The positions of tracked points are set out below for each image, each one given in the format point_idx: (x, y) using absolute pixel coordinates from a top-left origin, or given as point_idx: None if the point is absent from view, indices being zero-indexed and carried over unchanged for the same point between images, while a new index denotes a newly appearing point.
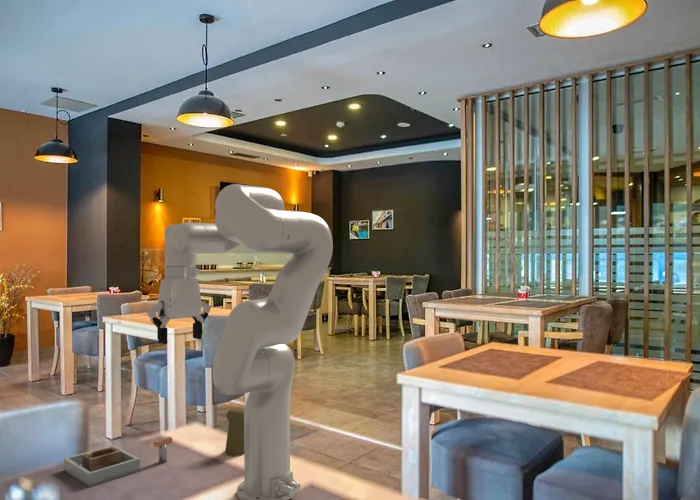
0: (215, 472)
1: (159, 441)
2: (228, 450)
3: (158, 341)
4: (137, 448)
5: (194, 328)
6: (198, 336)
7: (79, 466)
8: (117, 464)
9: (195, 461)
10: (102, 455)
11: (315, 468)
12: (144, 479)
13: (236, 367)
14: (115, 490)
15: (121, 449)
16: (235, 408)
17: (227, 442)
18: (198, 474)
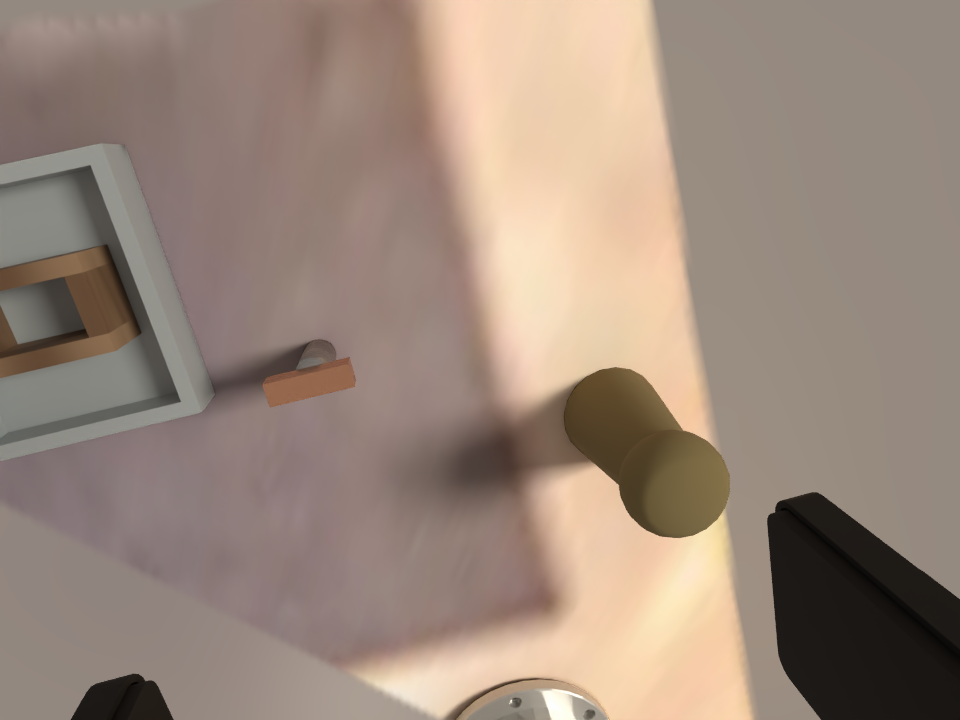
0: (459, 554)
1: (288, 402)
2: (572, 436)
3: (88, 695)
4: (252, 103)
5: (896, 675)
6: (801, 681)
7: None
8: (100, 428)
9: (436, 421)
10: (23, 359)
11: (727, 676)
12: (217, 484)
13: None
14: (105, 522)
15: (135, 244)
16: (680, 501)
17: (583, 434)
18: (403, 540)
